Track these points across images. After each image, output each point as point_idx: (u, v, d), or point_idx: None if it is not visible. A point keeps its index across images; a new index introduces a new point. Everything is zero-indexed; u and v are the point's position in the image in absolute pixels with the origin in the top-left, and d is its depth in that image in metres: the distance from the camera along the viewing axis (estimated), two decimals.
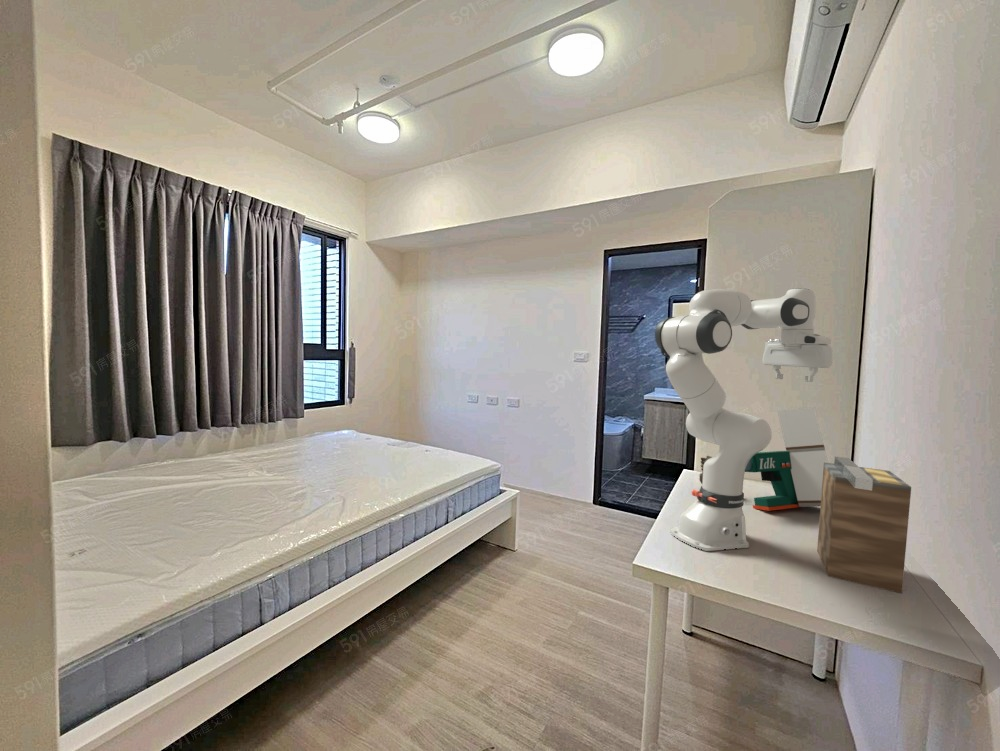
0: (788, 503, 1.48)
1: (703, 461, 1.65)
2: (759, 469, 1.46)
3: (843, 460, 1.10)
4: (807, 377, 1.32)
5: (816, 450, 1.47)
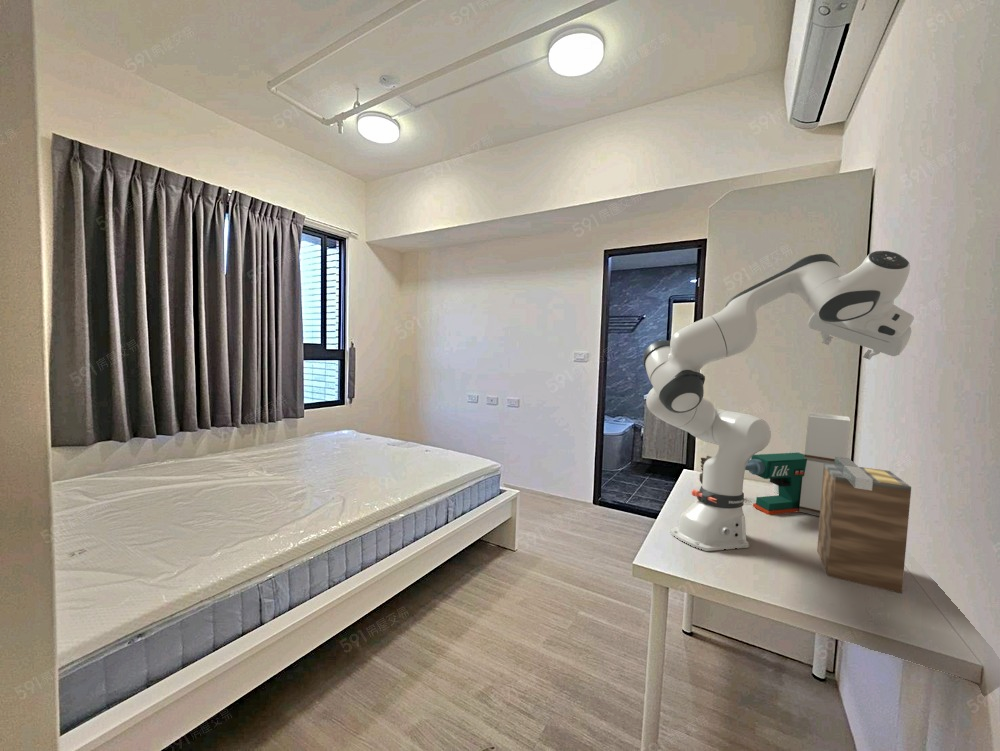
0: (789, 507, 1.48)
1: (703, 461, 1.65)
2: (771, 476, 1.42)
3: (843, 460, 1.10)
4: (867, 355, 1.05)
5: None
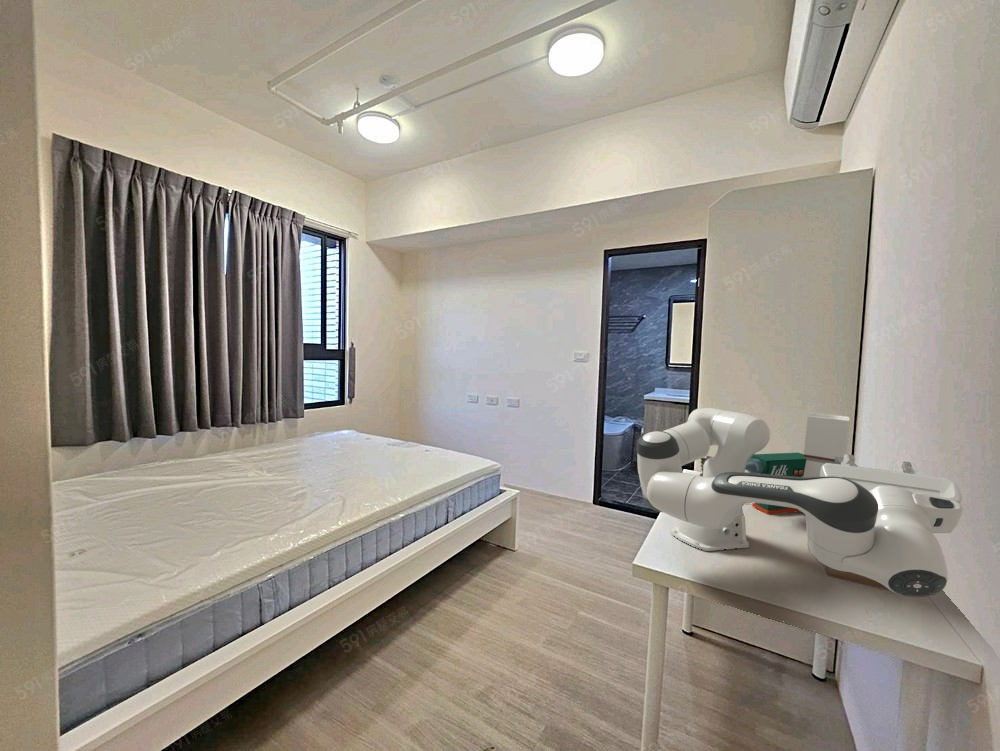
0: (789, 507, 1.48)
1: (703, 461, 1.65)
2: None
3: (843, 460, 1.10)
4: None
5: None
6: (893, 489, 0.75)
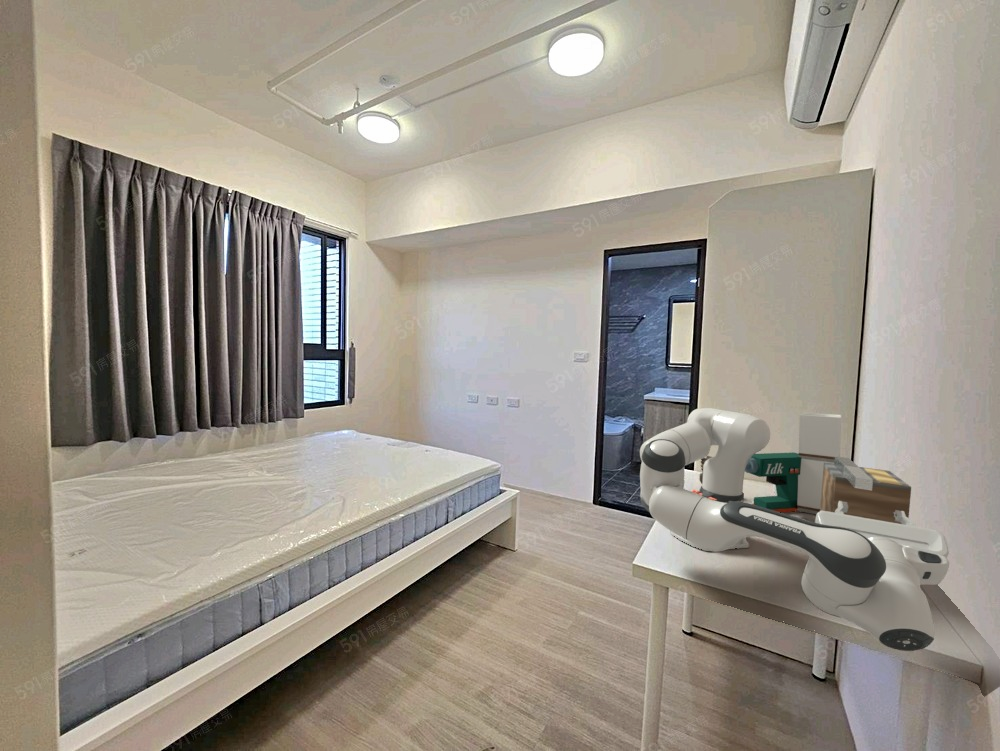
0: (788, 507, 1.48)
1: (703, 461, 1.65)
2: (765, 474, 1.44)
3: (843, 460, 1.10)
4: None
5: (830, 461, 1.42)
6: (884, 542, 0.79)
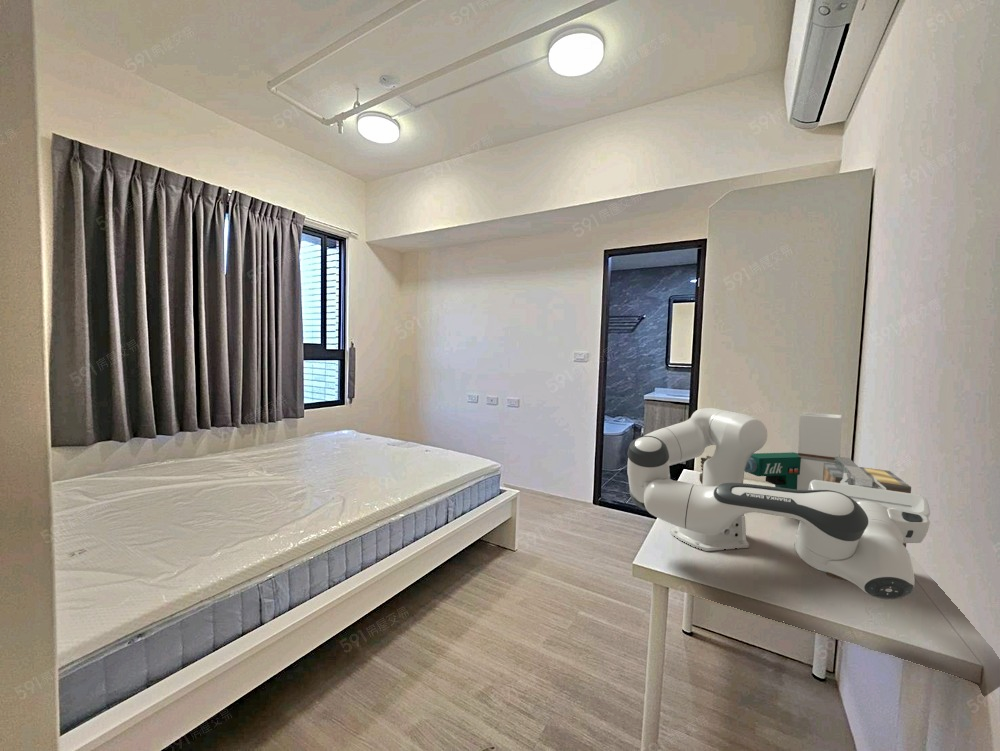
0: None
1: (703, 461, 1.65)
2: (764, 474, 1.45)
3: (843, 460, 1.10)
4: None
5: (829, 462, 1.42)
6: (871, 505, 0.86)
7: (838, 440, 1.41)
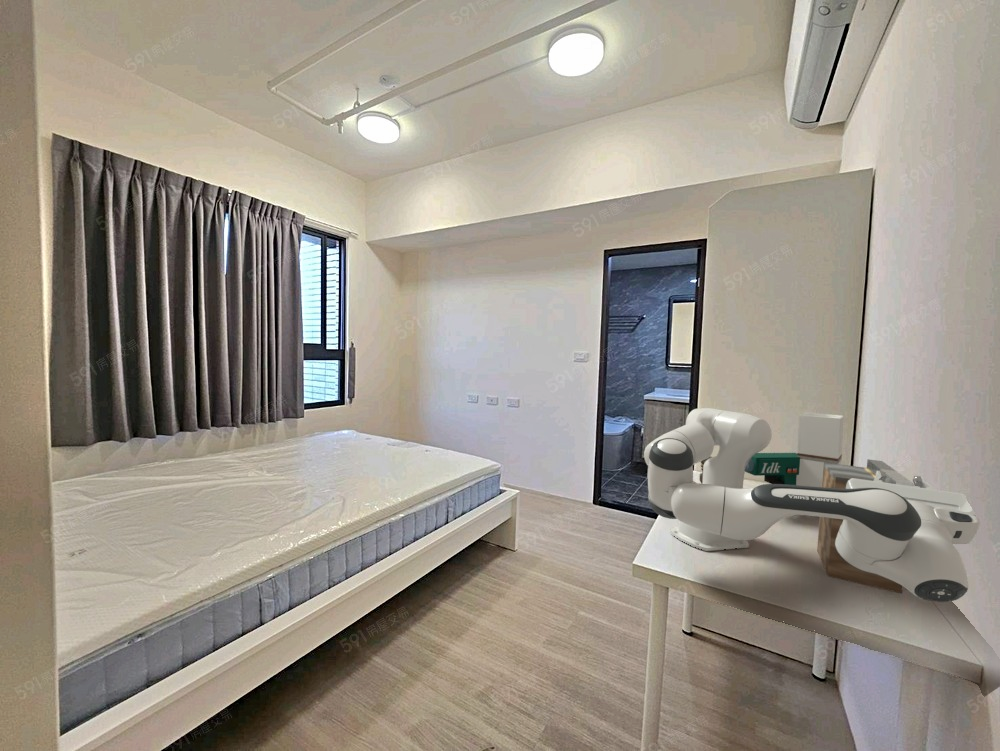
0: None
1: (703, 461, 1.65)
2: (760, 473, 1.45)
3: (877, 463, 1.07)
4: None
5: (828, 462, 1.42)
6: (916, 504, 0.83)
7: (837, 441, 1.40)
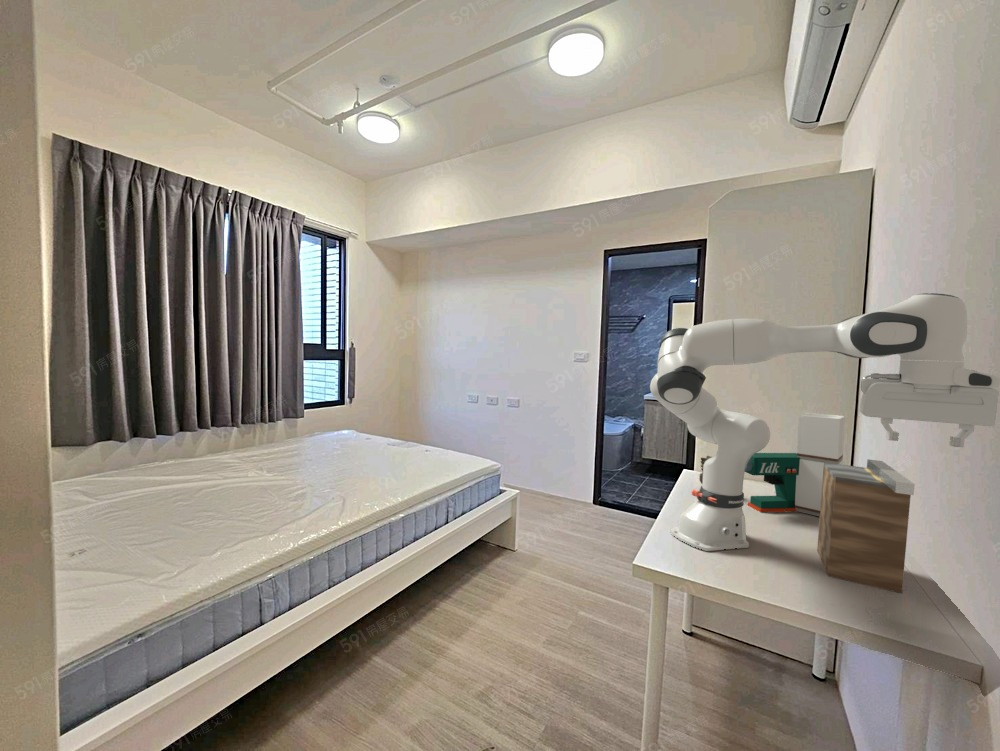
0: (785, 506, 1.49)
1: (703, 461, 1.65)
2: (759, 473, 1.45)
3: (877, 463, 1.07)
4: (959, 440, 0.80)
5: None
6: None
7: (837, 441, 1.39)
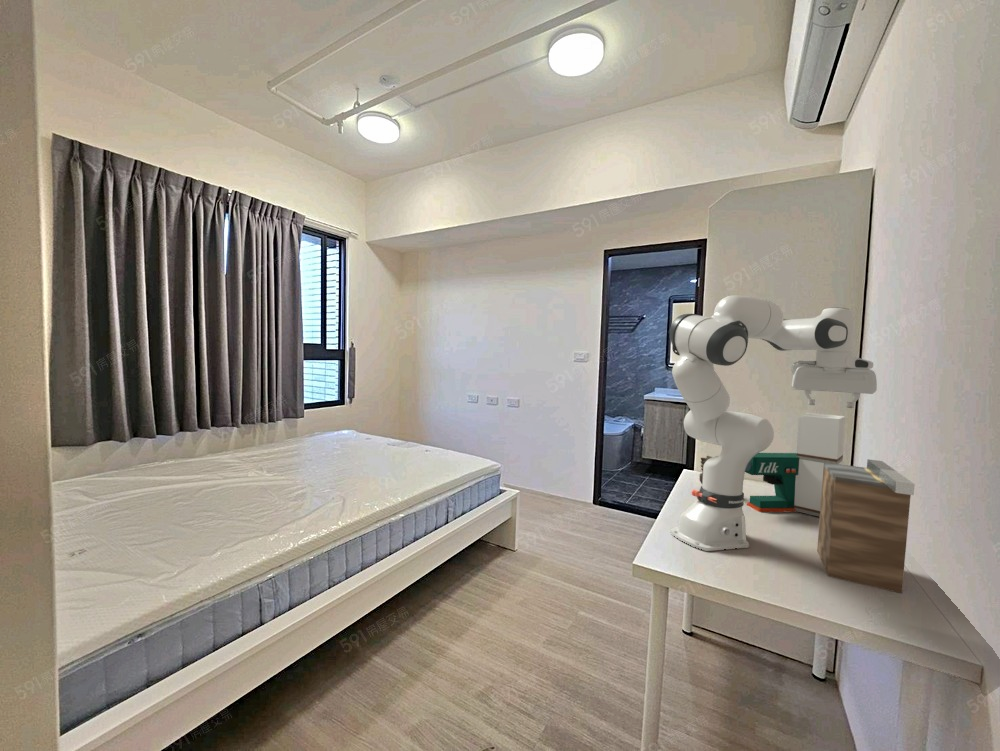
0: (784, 506, 1.49)
1: (703, 461, 1.65)
2: (758, 473, 1.46)
3: (877, 463, 1.07)
4: (851, 403, 1.23)
5: None
6: None
7: (836, 441, 1.39)
